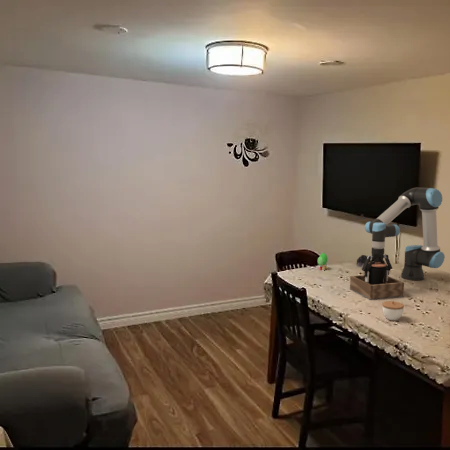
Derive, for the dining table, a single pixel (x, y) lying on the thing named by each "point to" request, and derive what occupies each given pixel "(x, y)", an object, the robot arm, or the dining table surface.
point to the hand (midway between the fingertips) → (376, 281)
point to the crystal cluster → (361, 260)
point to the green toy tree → (322, 261)
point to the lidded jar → (392, 310)
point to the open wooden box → (377, 288)
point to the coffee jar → (377, 274)
